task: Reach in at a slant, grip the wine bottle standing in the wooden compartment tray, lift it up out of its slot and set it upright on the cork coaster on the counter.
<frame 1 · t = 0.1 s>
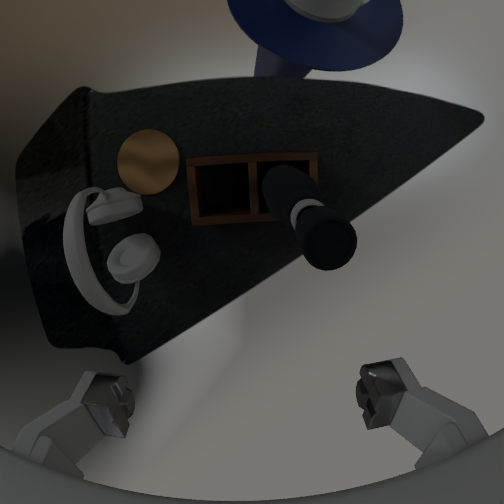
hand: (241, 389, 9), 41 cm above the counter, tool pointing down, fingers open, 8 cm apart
wooden compartment tray: (252, 182, 47), on the counter
headphones: (134, 226, 49), on the counter
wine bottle: (279, 181, 47), resting in wooden compartment tray
coaster: (147, 161, 45), on the counter
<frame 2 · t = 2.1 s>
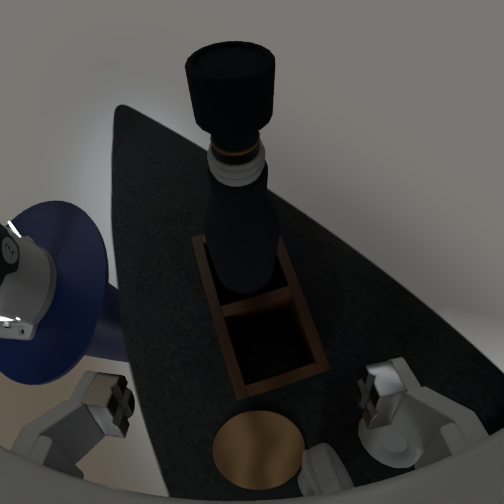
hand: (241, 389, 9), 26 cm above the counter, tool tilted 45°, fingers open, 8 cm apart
wooden compartment tray: (256, 312, 36), on the counter
headphones: (352, 447, 29), on the counter
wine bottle: (245, 281, 38), resting in wooden compartment tray
coaster: (258, 451, 29), on the counter
when the fingers open (16 cm above the counter, at t = 15.5 s): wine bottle stays where it is, resting on coaster.
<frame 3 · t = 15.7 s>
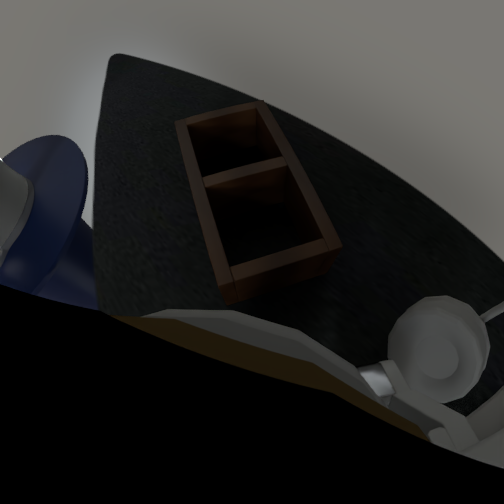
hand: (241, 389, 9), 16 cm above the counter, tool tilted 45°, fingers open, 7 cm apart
wooden compartment tray: (247, 206, 31), on the counter
headphones: (380, 382, 23), on the counter, touching gripper
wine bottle: (253, 387, 23), resting on coaster
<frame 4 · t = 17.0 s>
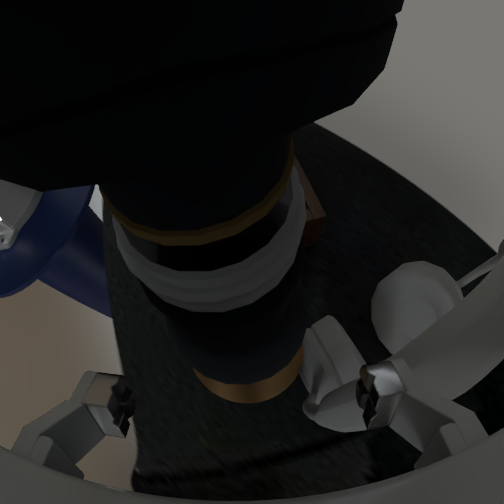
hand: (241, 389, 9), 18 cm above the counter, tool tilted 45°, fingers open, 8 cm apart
wooden compartment tray: (243, 187, 34), on the counter
headphones: (365, 345, 27), on the counter, touching gripper
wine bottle: (247, 345, 27), resting on coaster
coaster: (246, 345, 27), on the counter
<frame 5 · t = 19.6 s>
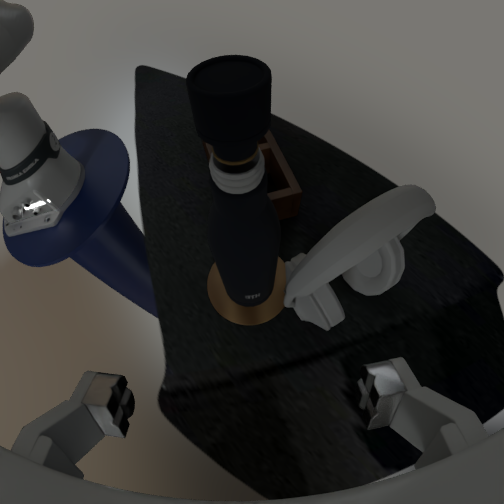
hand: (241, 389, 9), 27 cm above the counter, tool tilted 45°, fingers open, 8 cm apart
wooden compartment tray: (246, 176, 46), on the counter
headphones: (335, 285, 39), on the counter
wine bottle: (249, 283, 39), resting on coaster
coaster: (249, 284, 39), on the counter
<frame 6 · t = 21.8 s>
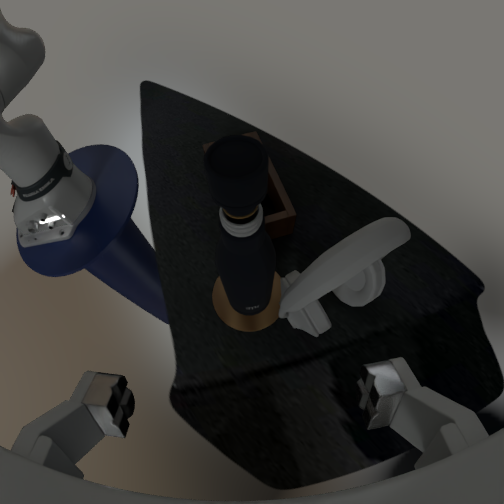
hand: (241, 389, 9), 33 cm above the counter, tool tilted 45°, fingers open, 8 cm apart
wooden compartment tray: (246, 196, 52), on the counter
headphones: (325, 296, 44), on the counter
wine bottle: (249, 295, 44), resting on coaster
coaster: (249, 295, 45), on the counter
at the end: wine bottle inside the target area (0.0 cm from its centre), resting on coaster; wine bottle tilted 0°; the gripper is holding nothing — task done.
